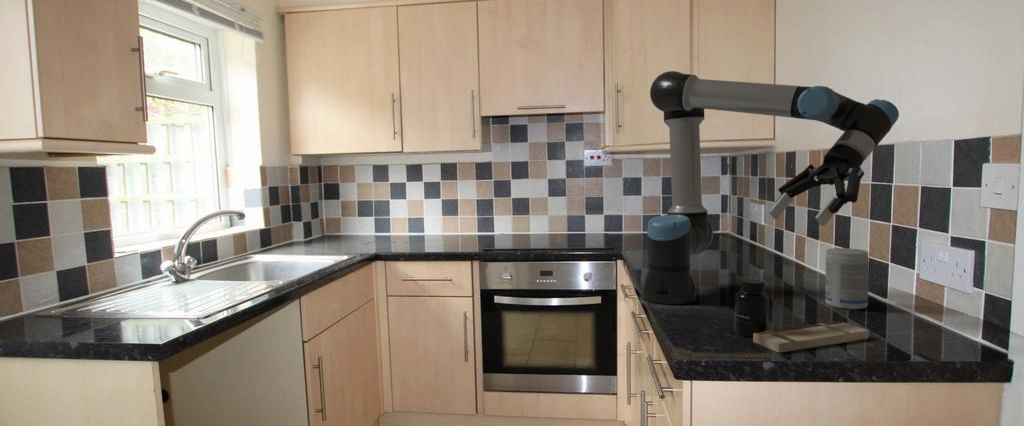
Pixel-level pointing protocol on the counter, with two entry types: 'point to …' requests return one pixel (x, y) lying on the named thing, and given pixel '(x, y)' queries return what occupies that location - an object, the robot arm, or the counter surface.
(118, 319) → the counter surface
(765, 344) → the birch board
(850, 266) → the supplement tub
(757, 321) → the supplement bottle
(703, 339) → the counter surface
